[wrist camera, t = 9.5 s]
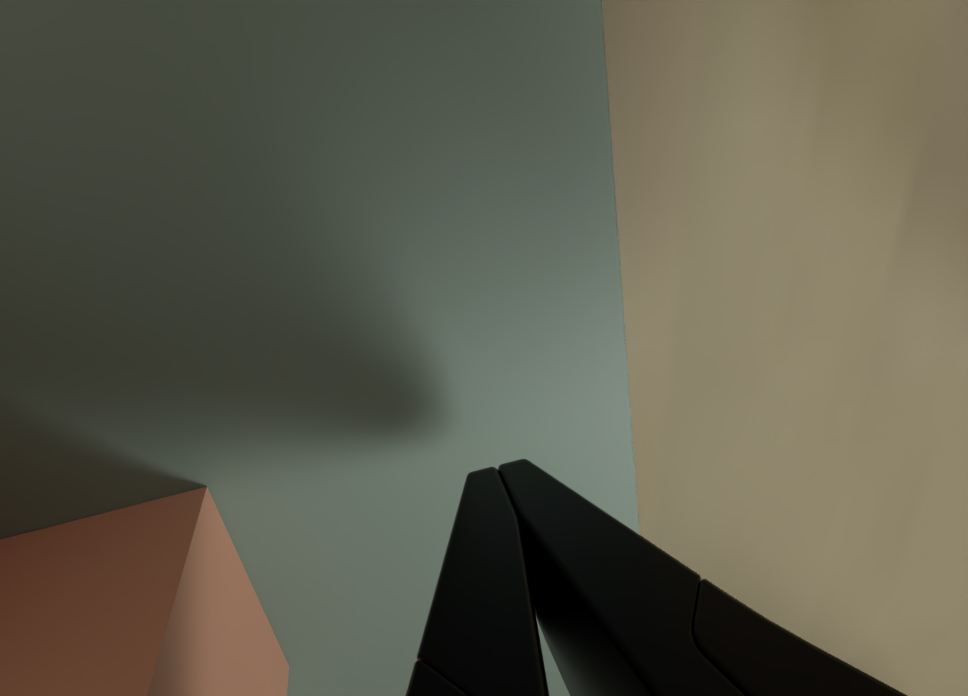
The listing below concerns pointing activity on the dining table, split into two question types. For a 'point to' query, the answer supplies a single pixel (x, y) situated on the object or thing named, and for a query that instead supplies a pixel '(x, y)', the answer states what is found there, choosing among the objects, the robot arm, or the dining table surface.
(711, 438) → the dining table surface
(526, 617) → the robot arm
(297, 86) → the board
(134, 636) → the salmon notched block
